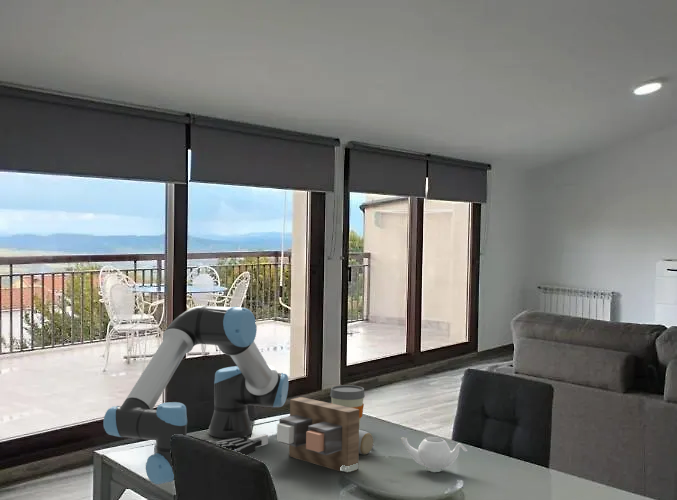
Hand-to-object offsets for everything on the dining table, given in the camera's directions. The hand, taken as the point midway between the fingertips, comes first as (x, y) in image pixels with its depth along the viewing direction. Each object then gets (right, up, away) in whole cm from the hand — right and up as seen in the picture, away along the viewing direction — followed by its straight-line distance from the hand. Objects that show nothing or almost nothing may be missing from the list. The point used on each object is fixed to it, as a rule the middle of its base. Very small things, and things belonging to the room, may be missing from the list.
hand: (266, 439), depth 201 cm
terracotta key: (+15, -3, -1) cm, 15 cm away
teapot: (+50, -11, +5) cm, 51 cm away
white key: (+6, -2, +7) cm, 9 cm away
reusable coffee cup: (+24, -10, +49) cm, 56 cm away
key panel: (+14, -10, +8) cm, 19 cm away
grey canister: (+28, -11, +23) cm, 38 cm away
